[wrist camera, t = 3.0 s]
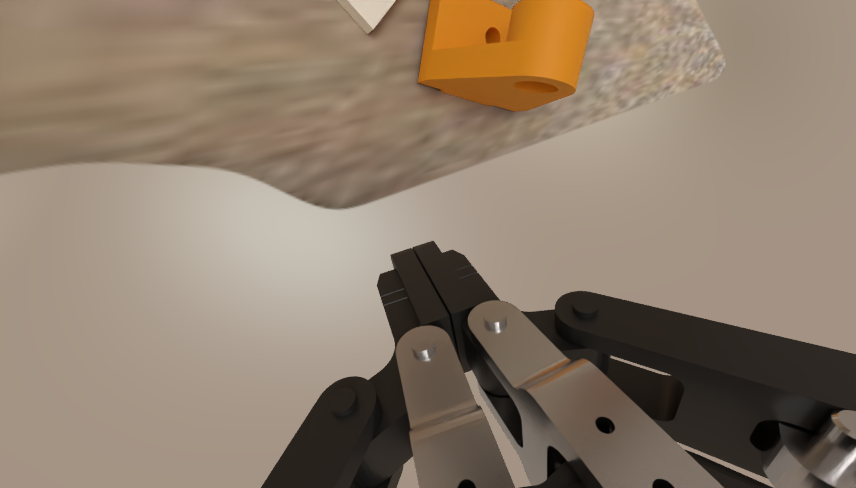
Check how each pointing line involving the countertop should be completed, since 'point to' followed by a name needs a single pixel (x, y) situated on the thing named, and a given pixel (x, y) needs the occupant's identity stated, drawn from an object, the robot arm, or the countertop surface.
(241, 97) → the countertop surface
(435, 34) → the bracket
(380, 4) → the board
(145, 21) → the countertop surface
